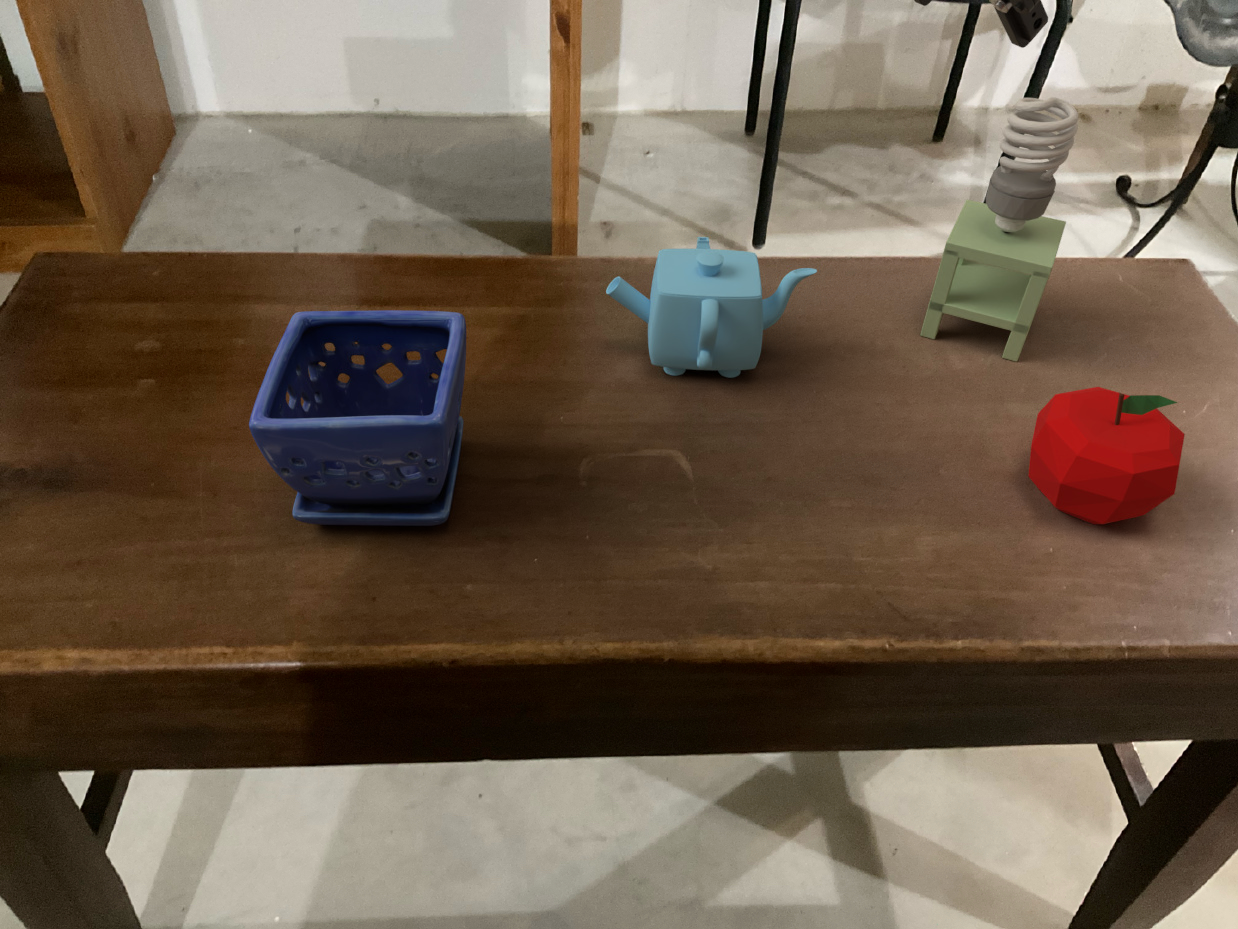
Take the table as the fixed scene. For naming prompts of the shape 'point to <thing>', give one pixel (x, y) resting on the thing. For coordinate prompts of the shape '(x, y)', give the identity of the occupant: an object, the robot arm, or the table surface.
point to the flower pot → (365, 416)
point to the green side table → (994, 274)
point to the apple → (1105, 454)
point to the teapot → (706, 308)
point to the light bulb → (1029, 185)
